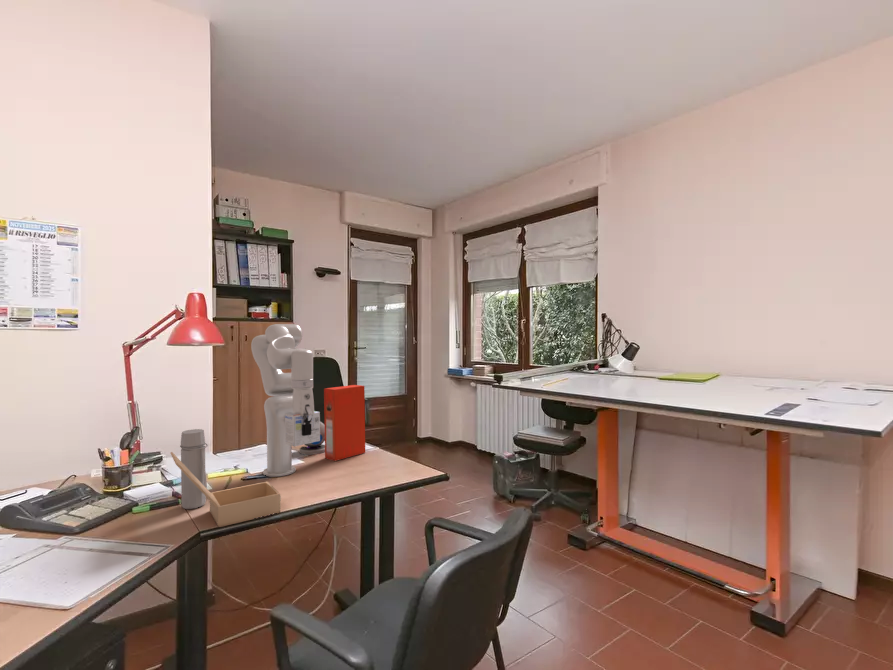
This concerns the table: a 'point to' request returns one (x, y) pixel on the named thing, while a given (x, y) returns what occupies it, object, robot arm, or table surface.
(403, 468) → the table surface
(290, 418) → the light bulb box
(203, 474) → the water bottle
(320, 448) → the webcam
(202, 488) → the lid
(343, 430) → the file binder
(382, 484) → the table surface
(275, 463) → the robot arm
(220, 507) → the cardboard tray
